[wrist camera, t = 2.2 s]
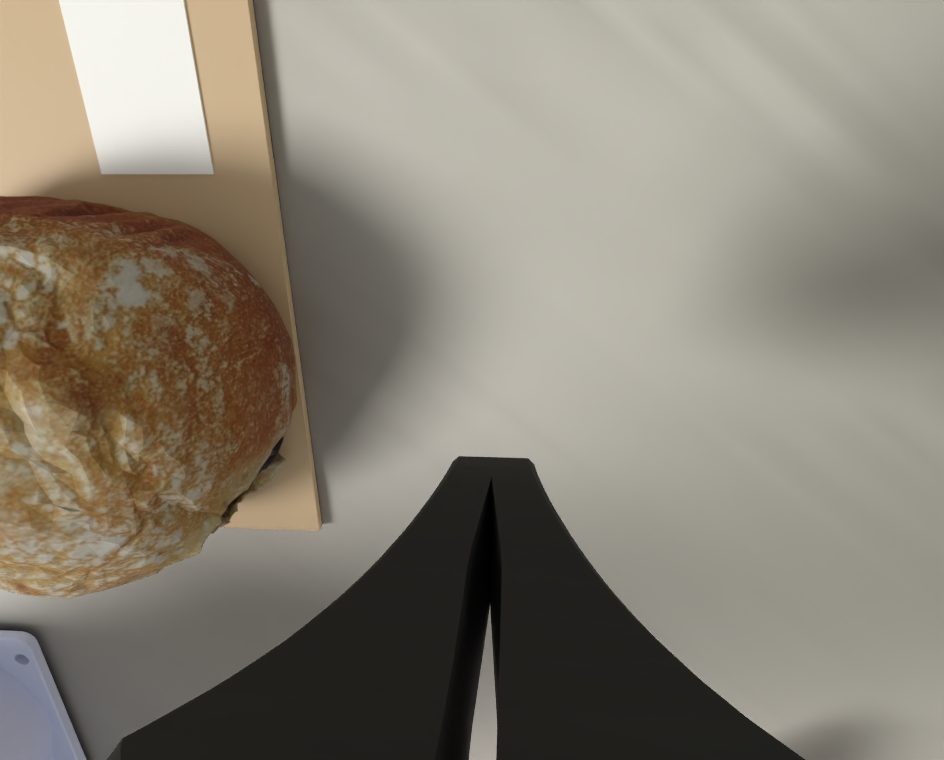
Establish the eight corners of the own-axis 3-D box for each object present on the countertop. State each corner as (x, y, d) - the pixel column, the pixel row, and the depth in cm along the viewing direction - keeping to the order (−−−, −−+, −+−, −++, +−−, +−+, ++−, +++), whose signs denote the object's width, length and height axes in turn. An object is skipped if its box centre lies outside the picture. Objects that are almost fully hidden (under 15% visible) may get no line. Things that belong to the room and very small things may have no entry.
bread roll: (240, 474, 22) (250, 671, 16) (-130, 436, 17) (-324, 702, 11) (324, 231, 18) (380, 366, 12) (-124, 87, 13) (-421, 195, 7)
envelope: (321, 524, 19) (318, 532, 19) (21, 514, 19) (13, 521, 19) (239, -101, 12) (232, -107, 12) (-210, -89, 13) (-228, -95, 13)
